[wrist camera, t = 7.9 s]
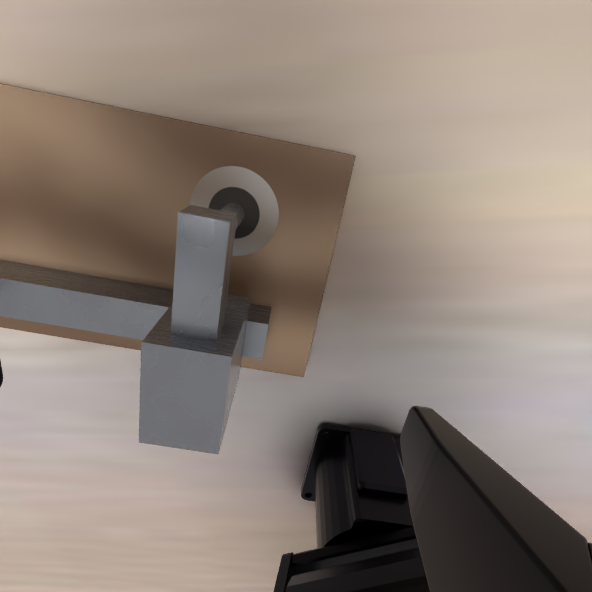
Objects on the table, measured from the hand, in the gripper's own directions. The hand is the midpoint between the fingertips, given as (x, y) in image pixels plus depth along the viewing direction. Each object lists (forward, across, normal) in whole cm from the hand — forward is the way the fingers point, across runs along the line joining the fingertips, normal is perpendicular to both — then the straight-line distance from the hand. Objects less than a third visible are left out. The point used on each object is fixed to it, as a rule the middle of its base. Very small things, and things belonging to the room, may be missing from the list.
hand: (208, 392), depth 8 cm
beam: (+11, +10, +1) cm, 15 cm away
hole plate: (+12, +9, 0) cm, 15 cm away
